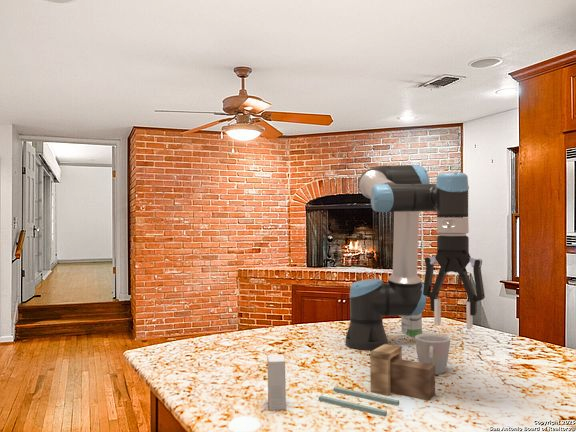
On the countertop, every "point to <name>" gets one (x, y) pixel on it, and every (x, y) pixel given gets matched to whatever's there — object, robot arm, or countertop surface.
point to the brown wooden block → (412, 379)
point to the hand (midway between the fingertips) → (453, 326)
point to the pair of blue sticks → (358, 406)
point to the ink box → (411, 325)
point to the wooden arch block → (382, 367)
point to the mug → (433, 350)
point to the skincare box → (276, 382)
